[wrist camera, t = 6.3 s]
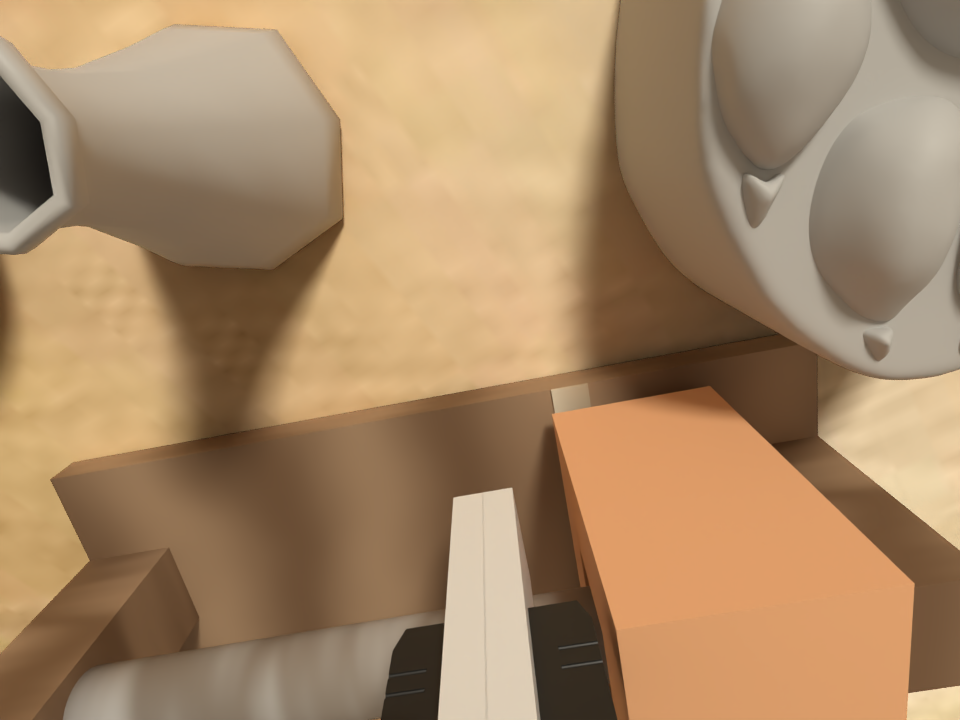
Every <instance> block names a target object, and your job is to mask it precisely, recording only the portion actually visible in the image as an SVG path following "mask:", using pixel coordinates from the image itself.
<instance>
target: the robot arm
mask: <svg viewBox="0 0 960 720" xmlns="http://www.w3.org/2000/svg"><path fill="white" fill-rule="evenodd" d="M385 696H386V698H385V699H384V703H383V709H382V715H381V720H617V716H616V712H615V708H614V704H613V700H612V696H611V692H610V688H609V684H608V680H607V676H606V672H605V668H604V664H603V660H602V656H601V652H600V648H599V645H598V640H597V636H596V632H595V628H594V624H593V620H592V617H591V616H590V615H589V614H588V613H587V612H586V610H585V609H584V608H583V607H582V606H581V605H580V603H579V602H578V601H577V600H575V601H569V602H562V603H556V604H550V605H543V606H537V607H534V604H533V597H532V589H531V581H530V574H529V569H528V564H527V559H526V554H525V549H524V544H523V539H522V534H521V529H520V524H519V519H518V514H517V509H516V504H515V499H514V494H513V489H512V488H506V489H501V490H495V491H489V492H483V493H477V494H471V495H465V496H459V497H453V511H452V525H451V540H450V554H449V568H448V583H447V597H446V611H445V623H440V624H434V625H428V626H421V627H415V628H409V629H406V630H405V631H404V633H403V635H402V636H401V638H400V639H399V641H398V643H397V644H396V646H395V648H394V649H393V651H392V657H391V663H390V669H389V679H388V680H387V686H386V692H385Z"/></svg>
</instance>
